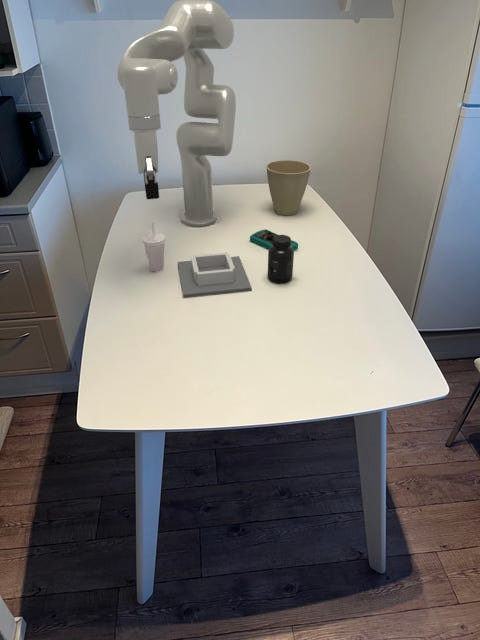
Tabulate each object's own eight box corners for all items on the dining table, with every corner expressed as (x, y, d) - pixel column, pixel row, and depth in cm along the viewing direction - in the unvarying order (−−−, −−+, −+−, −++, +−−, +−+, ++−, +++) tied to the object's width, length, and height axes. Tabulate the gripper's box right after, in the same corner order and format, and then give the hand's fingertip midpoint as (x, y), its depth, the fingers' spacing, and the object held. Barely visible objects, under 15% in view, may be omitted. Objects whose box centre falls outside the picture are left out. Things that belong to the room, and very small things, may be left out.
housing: (177, 264, 141) (176, 250, 138) (239, 259, 144) (238, 245, 141) (183, 297, 127) (182, 282, 124) (251, 290, 129) (251, 276, 127)
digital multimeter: (264, 235, 158) (264, 226, 156) (298, 250, 149) (299, 241, 147) (247, 242, 154) (247, 233, 152) (282, 258, 145) (283, 249, 143)
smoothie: (150, 276, 136) (144, 229, 128) (142, 266, 141) (136, 220, 132) (171, 270, 138) (167, 224, 130) (163, 261, 143) (159, 216, 135)
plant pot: (309, 219, 167) (313, 173, 158) (265, 219, 167) (267, 173, 158) (305, 203, 179) (308, 159, 170) (264, 203, 179) (265, 159, 170)
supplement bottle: (262, 278, 135) (263, 238, 128) (278, 269, 139) (279, 230, 132) (281, 287, 131) (283, 246, 124) (297, 277, 135) (300, 238, 128)
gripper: (128, 114, 123) (136, 181, 133) (128, 132, 109) (138, 205, 119) (158, 113, 124) (164, 179, 134) (162, 130, 110) (169, 203, 120)
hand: (151, 191), depth 126 cm, fingers open, 9 cm apart
